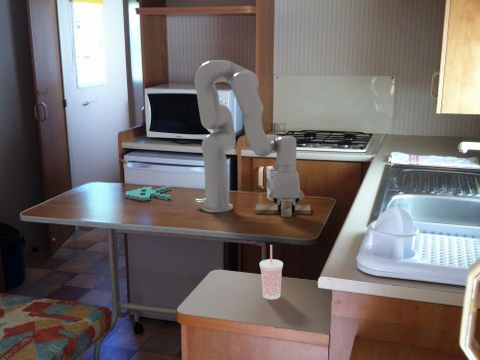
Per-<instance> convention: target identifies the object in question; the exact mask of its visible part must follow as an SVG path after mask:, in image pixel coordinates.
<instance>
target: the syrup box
mask: <svg viewBox="0 0 480 360" xmlns="http://www.w3.org/2000/svg"><path fill="white" fill-rule="evenodd" d="M265 171H266V199H267V200H268V201H270V202H275V201H274V200H272V199H271V198H269V194H270V193H271V191H272V190H273V182H274V174H275V171H277V170H276V169H273V165H269V166H266V170H265ZM273 196H274V195H273ZM277 199H278V198H277ZM281 200H284V198H281Z"/></svg>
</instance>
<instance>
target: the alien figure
mask: <svg viewBox="0 0 480 360" xmlns="http://www.w3.org/2000/svg"><path fill="white" fill-rule="evenodd" d="M166 189H171V190H172V187H171V185H167V186H165V187H164V186H163V187H160V188H156V189H153V187H152V186H144V187H143V186H142V187H141V188H139V187H138V188H136V189H131V190H127V191H126V192H125V196H130V197H135V198H139V199H145V200H148V199H149V200H150V201H151V198H150V196H155V197H160V198H165V199H170V200H171V195H170V194H164V193H163V194H162V192H161V191H166ZM156 192H161V193H156ZM166 192H167V191H166ZM155 197H154V198H155ZM160 198H159V199H160ZM165 199H164V200H165Z"/></svg>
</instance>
